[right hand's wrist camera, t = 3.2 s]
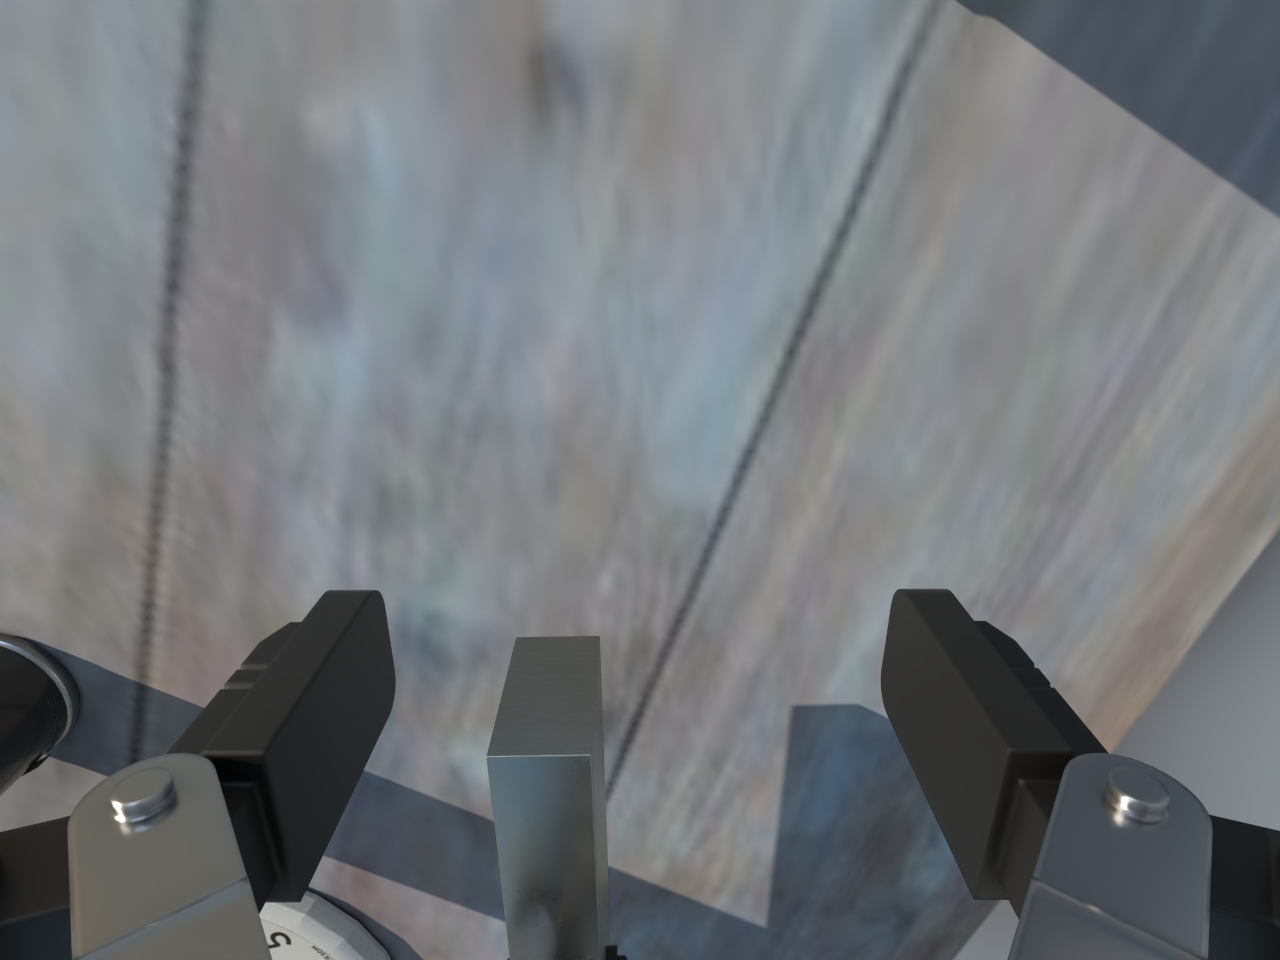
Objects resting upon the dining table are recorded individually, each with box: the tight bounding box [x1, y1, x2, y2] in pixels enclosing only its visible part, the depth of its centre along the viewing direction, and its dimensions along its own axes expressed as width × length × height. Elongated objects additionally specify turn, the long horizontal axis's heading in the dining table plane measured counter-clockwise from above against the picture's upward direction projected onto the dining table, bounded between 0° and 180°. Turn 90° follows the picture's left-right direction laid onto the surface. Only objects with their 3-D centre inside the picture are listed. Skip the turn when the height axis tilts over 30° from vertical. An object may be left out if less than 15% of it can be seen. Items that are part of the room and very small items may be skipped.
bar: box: [487, 636, 610, 960], centre depth 41 cm, size 23×5×9 cm, turn 1°
